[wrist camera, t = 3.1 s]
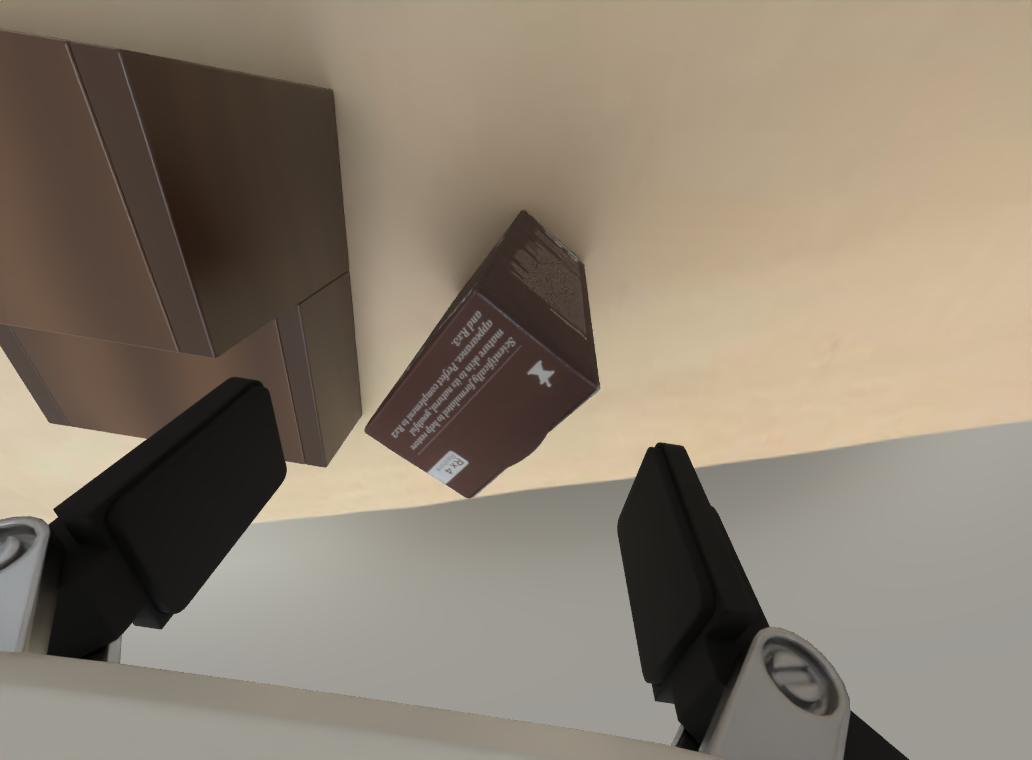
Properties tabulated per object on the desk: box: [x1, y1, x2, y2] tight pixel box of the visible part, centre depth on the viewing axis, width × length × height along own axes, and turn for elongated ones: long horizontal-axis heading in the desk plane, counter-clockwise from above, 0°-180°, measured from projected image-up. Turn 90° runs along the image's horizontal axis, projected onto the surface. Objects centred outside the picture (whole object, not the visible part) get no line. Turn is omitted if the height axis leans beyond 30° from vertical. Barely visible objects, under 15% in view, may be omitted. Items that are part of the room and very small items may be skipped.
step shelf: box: [0, 29, 362, 467], centre depth 18 cm, size 16×18×10 cm
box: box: [365, 210, 600, 498], centre depth 16 cm, size 6×4×12 cm
